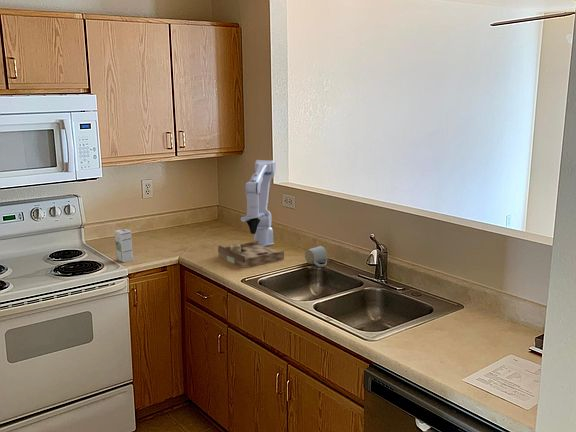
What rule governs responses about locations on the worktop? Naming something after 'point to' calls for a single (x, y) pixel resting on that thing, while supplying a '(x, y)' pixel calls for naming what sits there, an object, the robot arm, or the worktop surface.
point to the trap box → (250, 254)
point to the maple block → (235, 248)
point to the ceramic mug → (316, 256)
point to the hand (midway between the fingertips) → (253, 233)
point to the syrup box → (123, 245)
